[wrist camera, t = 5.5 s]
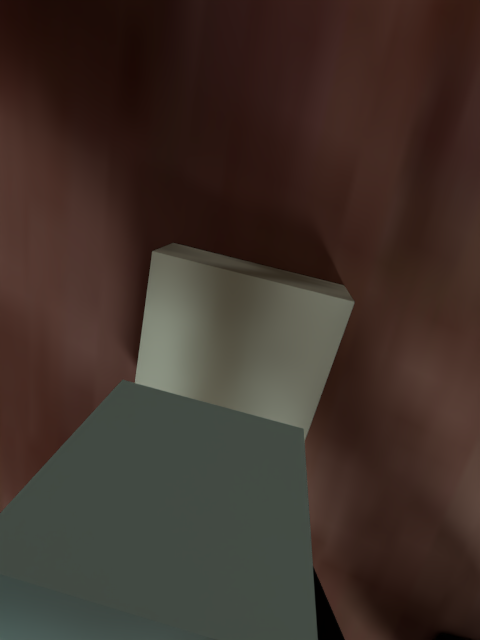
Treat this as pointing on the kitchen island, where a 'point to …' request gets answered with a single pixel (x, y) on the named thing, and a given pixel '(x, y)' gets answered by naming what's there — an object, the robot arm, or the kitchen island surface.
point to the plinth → (240, 333)
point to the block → (162, 528)
